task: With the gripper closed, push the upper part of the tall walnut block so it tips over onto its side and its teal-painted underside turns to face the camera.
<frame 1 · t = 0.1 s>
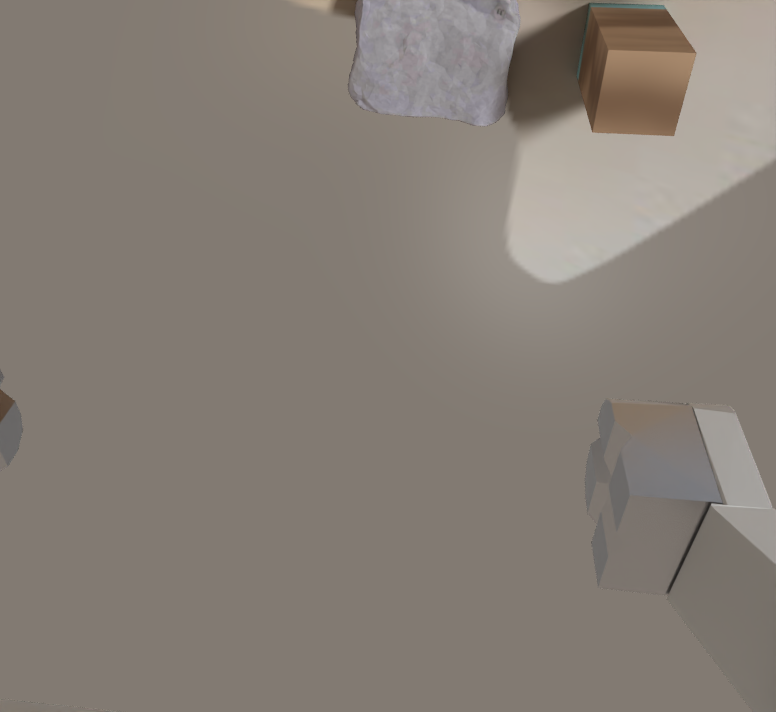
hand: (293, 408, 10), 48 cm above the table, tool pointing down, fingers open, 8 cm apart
stone block: (435, 34, 52), on the table
walnut block: (618, 42, 51), on the table
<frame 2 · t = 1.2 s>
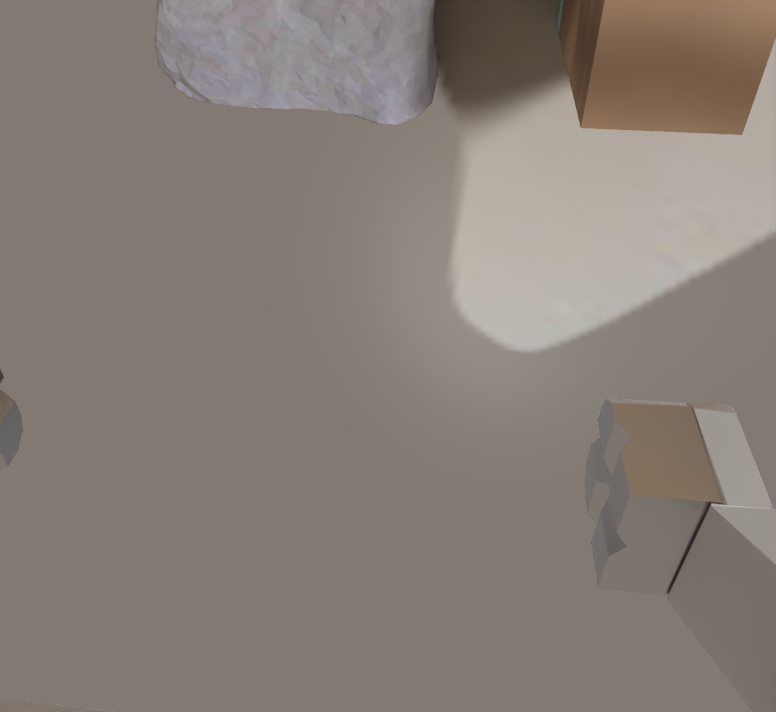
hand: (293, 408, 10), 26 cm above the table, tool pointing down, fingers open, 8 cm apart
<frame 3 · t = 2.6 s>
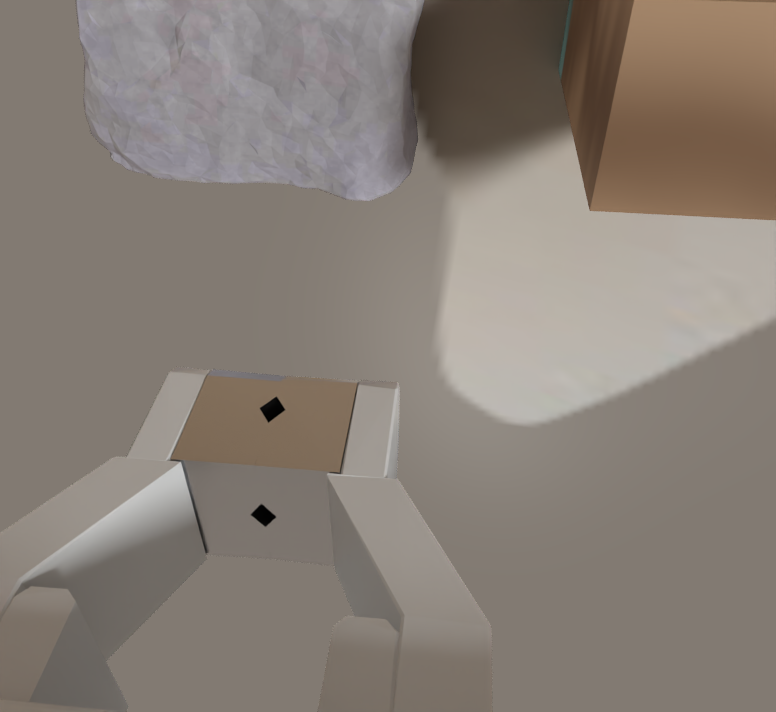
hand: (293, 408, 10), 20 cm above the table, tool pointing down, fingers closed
stone block: (266, 17, 26), on the table
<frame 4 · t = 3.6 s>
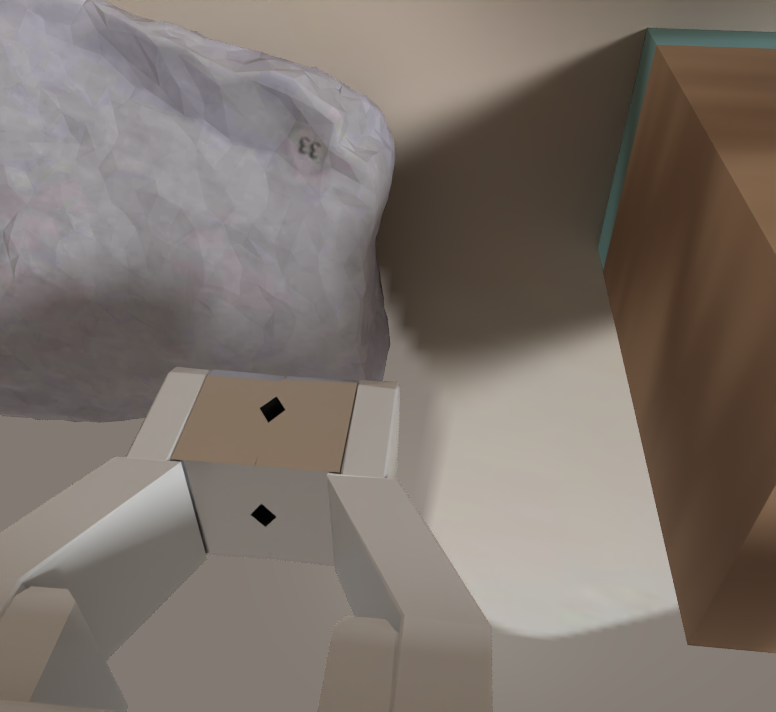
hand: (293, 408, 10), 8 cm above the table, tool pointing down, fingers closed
stone block: (165, 183, 18), on the table
walnut block: (738, 154, 15), on the table
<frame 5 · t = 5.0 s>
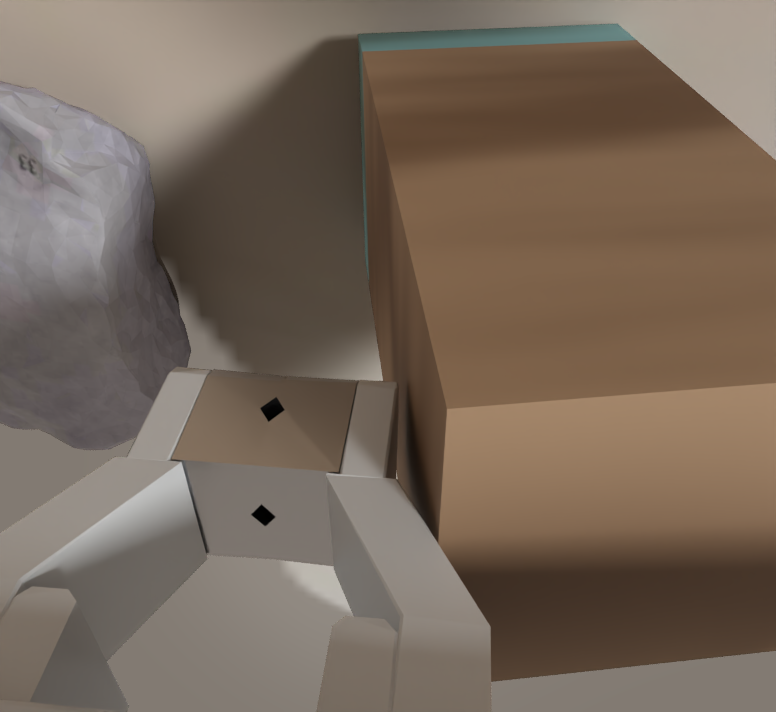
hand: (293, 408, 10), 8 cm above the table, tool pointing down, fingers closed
walnut block: (479, 153, 15), on the table, tilted 12°
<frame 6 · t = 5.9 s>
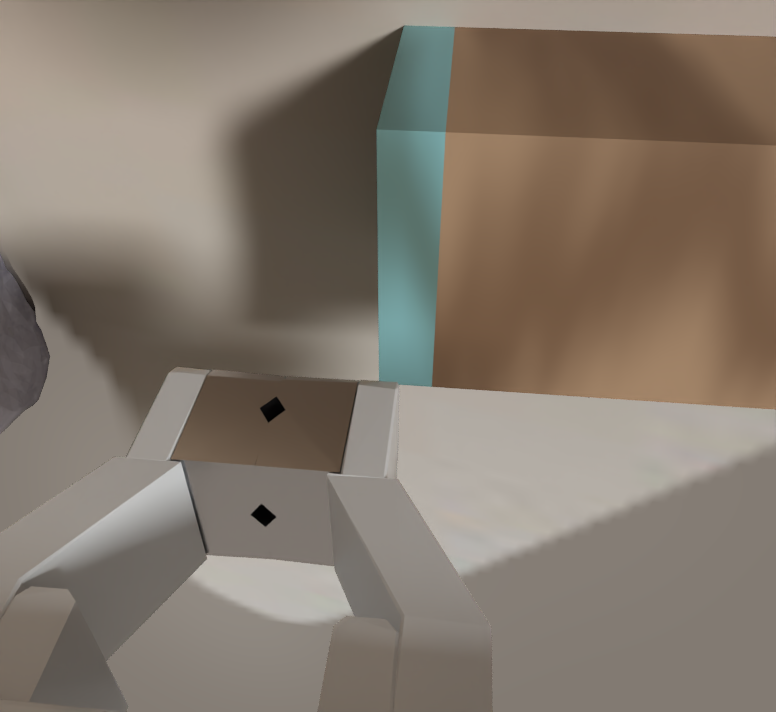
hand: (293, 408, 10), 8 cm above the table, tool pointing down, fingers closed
walnut block: (391, 200, 14), point 2 cm above the table, tilted 90°
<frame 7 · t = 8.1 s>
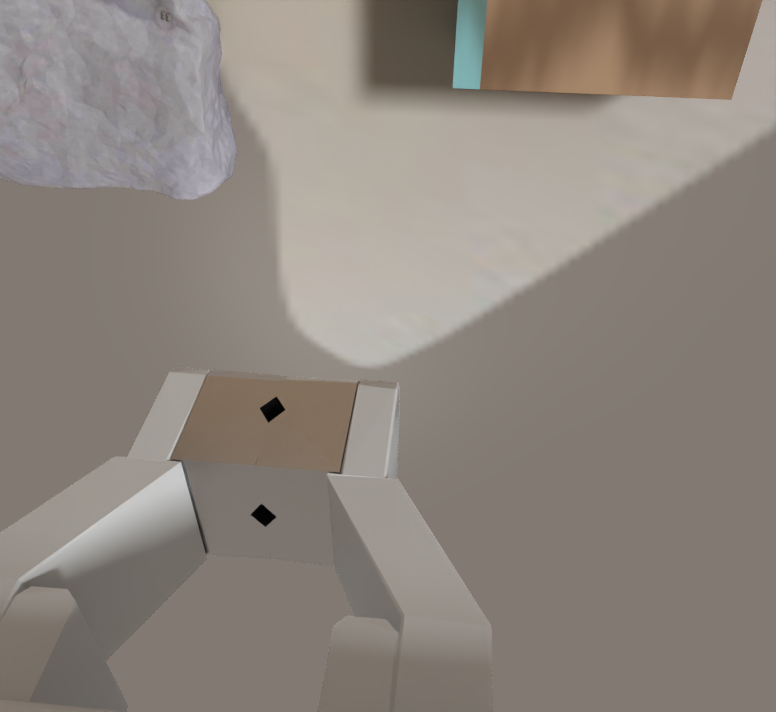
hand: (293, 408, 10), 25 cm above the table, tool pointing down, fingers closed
stone block: (106, 55, 33), on the table
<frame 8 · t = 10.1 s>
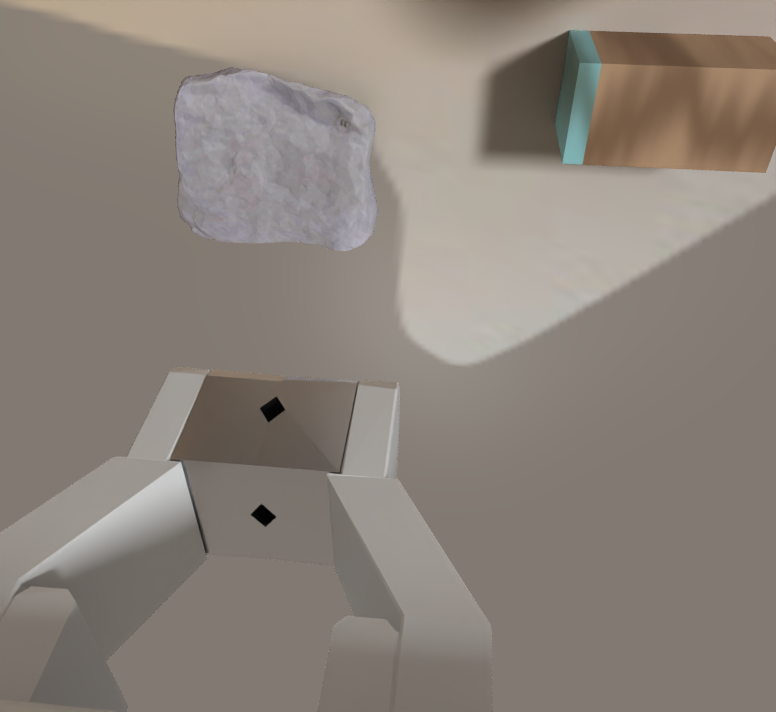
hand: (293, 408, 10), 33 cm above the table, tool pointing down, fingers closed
stone block: (282, 143, 43), on the table
walnut block: (566, 96, 37), point 2 cm above the table, tilted 90°
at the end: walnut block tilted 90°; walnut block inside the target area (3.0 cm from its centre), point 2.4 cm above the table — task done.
